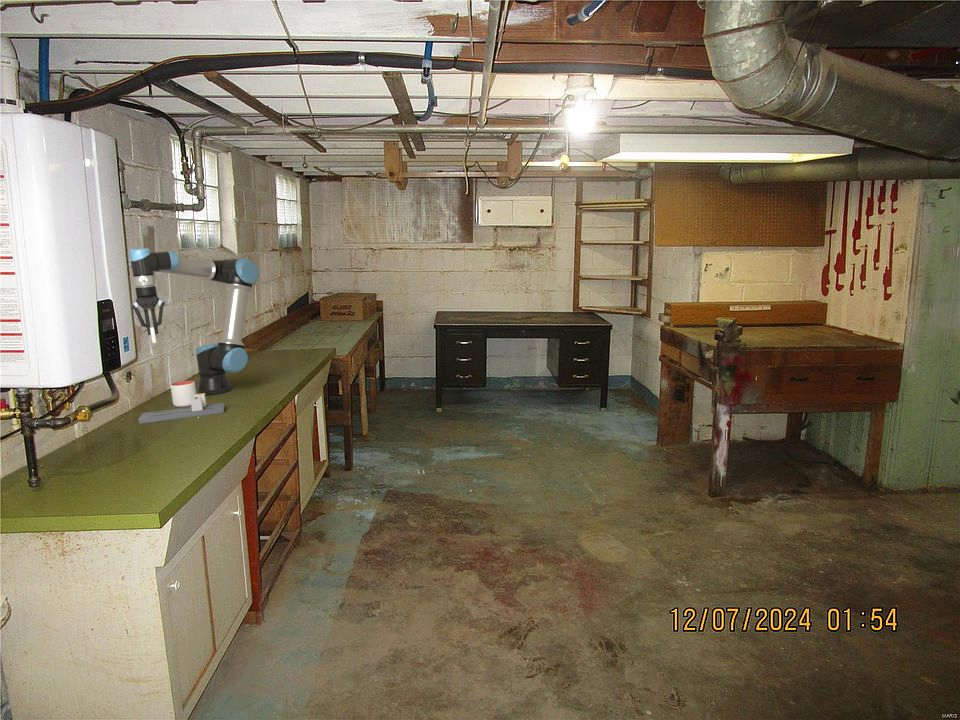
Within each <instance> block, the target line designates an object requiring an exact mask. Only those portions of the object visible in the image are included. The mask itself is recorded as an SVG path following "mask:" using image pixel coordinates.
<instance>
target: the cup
mask: <svg viewBox="0 0 960 720" xmlns="http://www.w3.org/2000/svg"><path fill="white" fill-rule="evenodd" d="M170 392H171V401H172V404H173V406H174V407H177V408H187V407H191V398H194V395H195V394H197V389H196V382H195V381H194V380H184V381H183V380H181V381H177V382H173V383H171V384H170Z"/></svg>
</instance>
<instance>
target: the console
mask: <svg viewBox="0 0 960 720" xmlns="http://www.w3.org/2000/svg"><path fill="white" fill-rule="evenodd" d="M225 408H226V406H225V402H220V403H212V404H206V407H203V410H200V411H193V412H192V407H191V406H187V407H178V408H173V409H172V408H171V409H164V410H156V411H149V412H142V413H141V414H140V415H139V418H138V423H139V425H140V424H148V423H155V422H161V421H170V420H176V419H178V420H179V419H185V418H193V417H199V416H207V415H216V414H217V415H218V414H223V413H225Z"/></svg>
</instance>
